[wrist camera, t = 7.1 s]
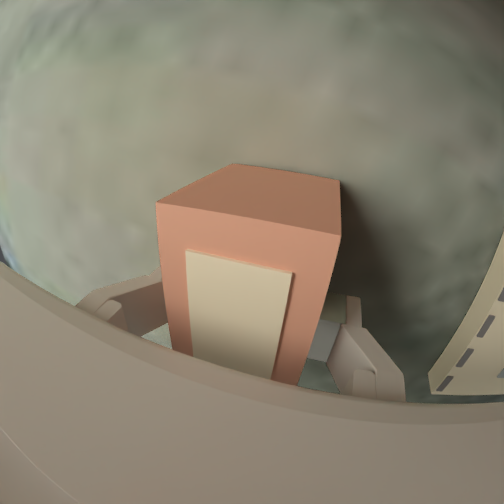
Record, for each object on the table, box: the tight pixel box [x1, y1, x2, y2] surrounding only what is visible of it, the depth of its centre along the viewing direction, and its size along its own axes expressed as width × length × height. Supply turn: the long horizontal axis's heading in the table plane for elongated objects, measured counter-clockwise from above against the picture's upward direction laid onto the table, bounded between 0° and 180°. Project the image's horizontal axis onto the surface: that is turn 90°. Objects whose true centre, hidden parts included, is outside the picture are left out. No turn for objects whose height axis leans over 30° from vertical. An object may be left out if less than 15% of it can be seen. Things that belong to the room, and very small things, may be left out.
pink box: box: [156, 164, 341, 386], centre depth 9 cm, size 4×8×5 cm, turn 175°
